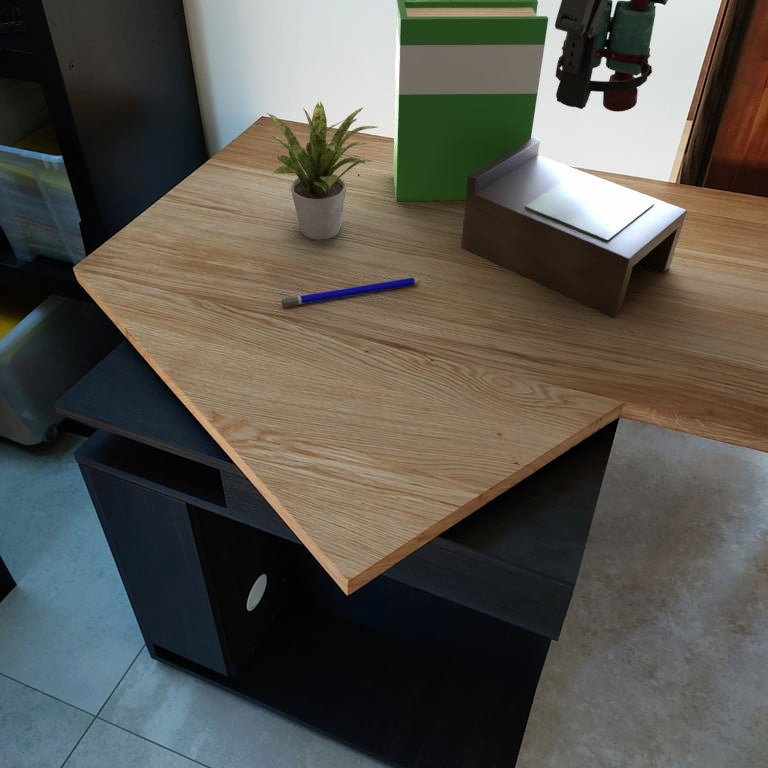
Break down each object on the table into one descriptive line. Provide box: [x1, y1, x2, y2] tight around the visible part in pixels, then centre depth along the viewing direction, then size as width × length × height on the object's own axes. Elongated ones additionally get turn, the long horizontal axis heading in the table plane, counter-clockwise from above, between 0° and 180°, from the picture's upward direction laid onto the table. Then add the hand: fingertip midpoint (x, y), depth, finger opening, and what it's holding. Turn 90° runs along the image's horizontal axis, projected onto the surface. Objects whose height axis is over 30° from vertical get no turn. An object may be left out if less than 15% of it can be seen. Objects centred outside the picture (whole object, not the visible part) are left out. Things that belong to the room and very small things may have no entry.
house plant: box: [266, 101, 378, 240], centre depth 96 cm, size 14×14×16 cm
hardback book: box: [392, 0, 549, 202], centre depth 103 cm, size 18×7×24 cm, turn 93°
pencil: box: [281, 277, 422, 308], centre depth 91 cm, size 17×1×1 cm, turn 107°
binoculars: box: [554, 0, 656, 113], centre depth 75 cm, size 9×11×10 cm
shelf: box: [460, 137, 688, 319], centre depth 95 cm, size 22×14×10 cm, turn 48°
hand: (599, 87), depth 77 cm, fingers closed on binoculars, 10 cm apart
